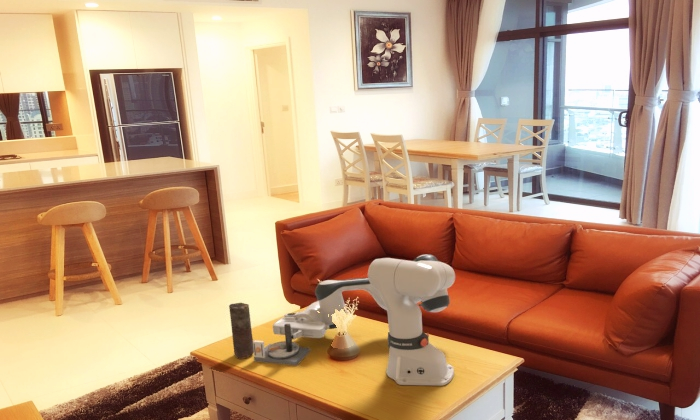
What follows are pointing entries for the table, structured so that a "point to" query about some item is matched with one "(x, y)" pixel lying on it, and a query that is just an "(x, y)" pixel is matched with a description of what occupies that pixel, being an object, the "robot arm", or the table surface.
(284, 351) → the grey disc with rod
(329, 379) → the table surface
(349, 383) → the table surface
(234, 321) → the candle
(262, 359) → the stand
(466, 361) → the table surface
